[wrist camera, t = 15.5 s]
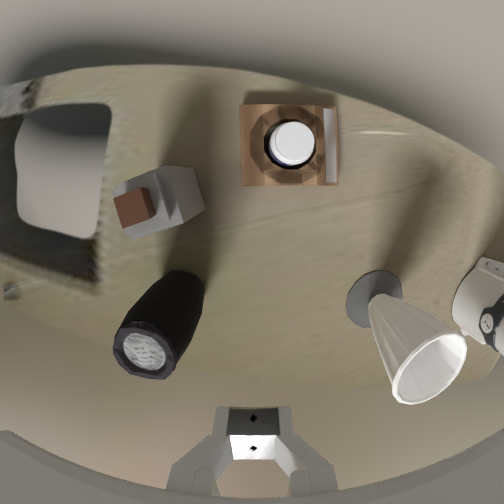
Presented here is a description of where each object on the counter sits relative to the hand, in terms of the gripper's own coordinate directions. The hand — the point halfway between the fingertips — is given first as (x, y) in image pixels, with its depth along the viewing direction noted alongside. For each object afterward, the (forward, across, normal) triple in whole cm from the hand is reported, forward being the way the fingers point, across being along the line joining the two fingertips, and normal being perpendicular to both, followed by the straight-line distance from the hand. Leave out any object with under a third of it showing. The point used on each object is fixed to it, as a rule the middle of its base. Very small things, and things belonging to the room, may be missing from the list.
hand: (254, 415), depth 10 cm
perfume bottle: (+35, +12, -7) cm, 38 cm away
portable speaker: (+35, +13, +9) cm, 39 cm away
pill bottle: (+35, -5, -14) cm, 38 cm away
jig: (+35, -5, -14) cm, 38 cm away
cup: (+35, -21, +12) cm, 43 cm away
